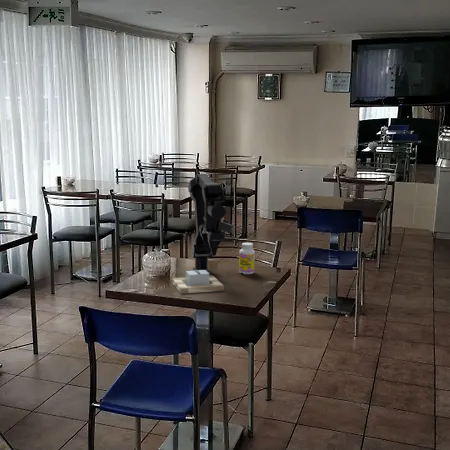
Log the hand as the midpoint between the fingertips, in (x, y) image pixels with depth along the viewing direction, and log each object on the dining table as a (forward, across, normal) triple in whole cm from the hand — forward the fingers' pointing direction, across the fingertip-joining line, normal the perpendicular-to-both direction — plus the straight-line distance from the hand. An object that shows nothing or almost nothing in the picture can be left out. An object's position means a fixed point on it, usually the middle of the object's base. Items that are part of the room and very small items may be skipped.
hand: (211, 253), depth 246 cm
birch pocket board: (+12, -7, +7) cm, 16 cm away
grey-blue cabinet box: (+12, -7, +7) cm, 16 cm away
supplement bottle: (+12, +10, -18) cm, 24 cm away
